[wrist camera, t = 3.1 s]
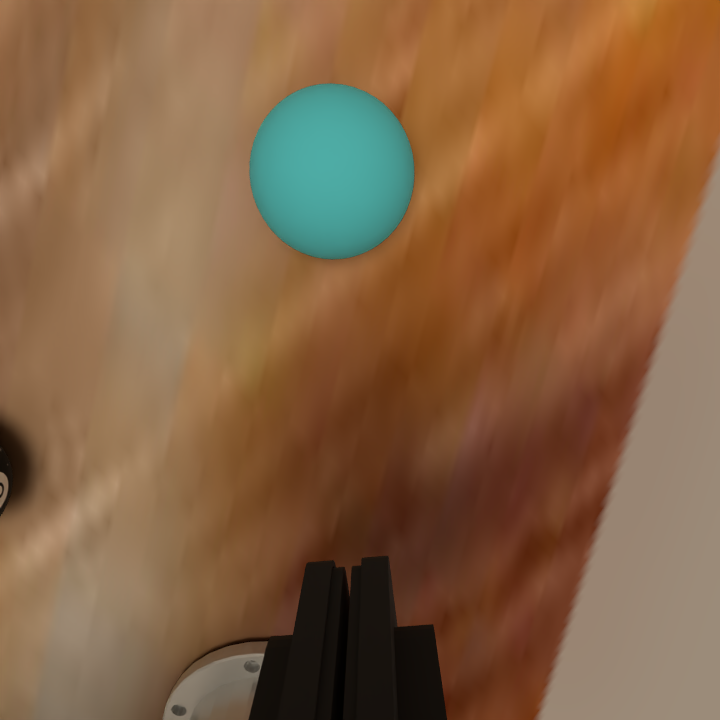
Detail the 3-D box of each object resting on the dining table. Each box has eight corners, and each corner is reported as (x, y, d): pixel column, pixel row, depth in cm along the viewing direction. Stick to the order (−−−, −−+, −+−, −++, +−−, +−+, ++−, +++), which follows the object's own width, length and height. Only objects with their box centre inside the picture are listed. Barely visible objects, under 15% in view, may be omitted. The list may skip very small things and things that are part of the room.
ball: (414, 244, 22) (429, 255, 16) (280, 260, 22) (248, 277, 17) (401, 93, 20) (412, 47, 15) (256, 113, 21) (211, 76, 15)
